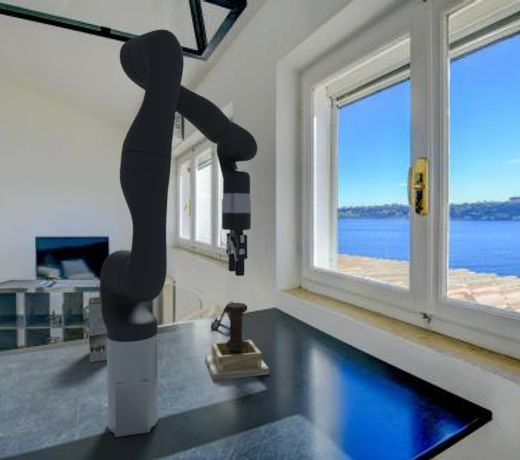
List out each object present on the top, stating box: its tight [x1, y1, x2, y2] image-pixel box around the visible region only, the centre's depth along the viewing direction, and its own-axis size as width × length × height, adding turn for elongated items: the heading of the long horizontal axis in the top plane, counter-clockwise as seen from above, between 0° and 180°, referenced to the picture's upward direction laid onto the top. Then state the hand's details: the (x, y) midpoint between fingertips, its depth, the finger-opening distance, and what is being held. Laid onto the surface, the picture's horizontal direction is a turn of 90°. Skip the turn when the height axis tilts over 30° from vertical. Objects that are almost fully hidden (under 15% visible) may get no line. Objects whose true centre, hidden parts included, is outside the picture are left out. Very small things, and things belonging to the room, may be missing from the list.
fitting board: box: [205, 339, 270, 381], centre depth 103 cm, size 14×14×5 cm
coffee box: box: [88, 296, 107, 363], centre depth 111 cm, size 9×6×16 cm
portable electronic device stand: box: [210, 301, 234, 331], centre depth 140 cm, size 9×8×8 cm
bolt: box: [225, 302, 248, 355], centre depth 103 cm, size 6×5×15 cm
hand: (236, 273), depth 103 cm, fingers open, 8 cm apart
